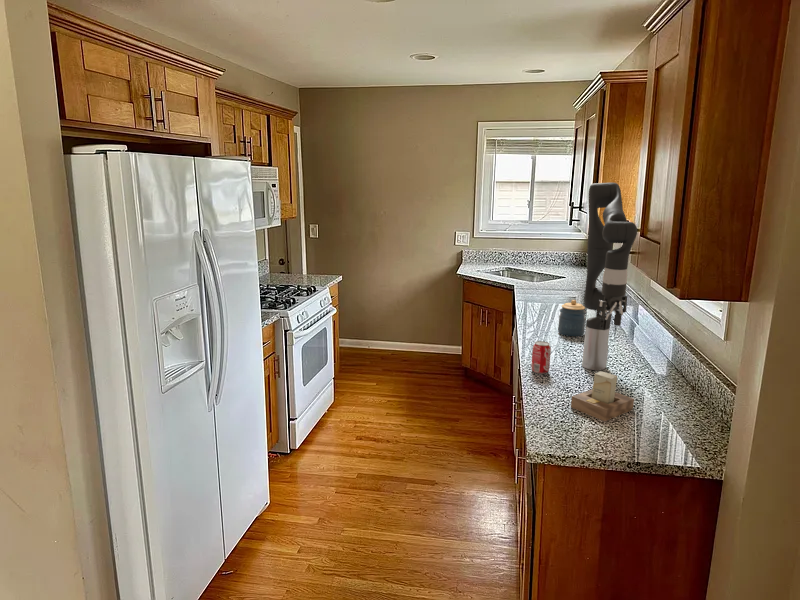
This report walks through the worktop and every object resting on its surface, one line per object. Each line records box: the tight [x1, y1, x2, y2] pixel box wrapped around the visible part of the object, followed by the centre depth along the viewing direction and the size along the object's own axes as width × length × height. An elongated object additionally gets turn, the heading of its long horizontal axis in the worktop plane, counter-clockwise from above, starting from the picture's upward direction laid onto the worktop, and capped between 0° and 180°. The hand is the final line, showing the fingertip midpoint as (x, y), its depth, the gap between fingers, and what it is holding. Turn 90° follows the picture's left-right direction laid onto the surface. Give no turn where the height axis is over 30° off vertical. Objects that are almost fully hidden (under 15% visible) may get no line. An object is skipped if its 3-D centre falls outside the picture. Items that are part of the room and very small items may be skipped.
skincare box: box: [591, 370, 618, 404], centre depth 180 cm, size 6×4×12 cm
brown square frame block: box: [570, 388, 635, 422], centre depth 180 cm, size 16×13×4 cm
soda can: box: [531, 340, 552, 375], centre depth 214 cm, size 7×7×12 cm
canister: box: [557, 299, 587, 337], centre depth 270 cm, size 13×13×18 cm
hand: (610, 327), depth 184 cm, fingers open, 8 cm apart
